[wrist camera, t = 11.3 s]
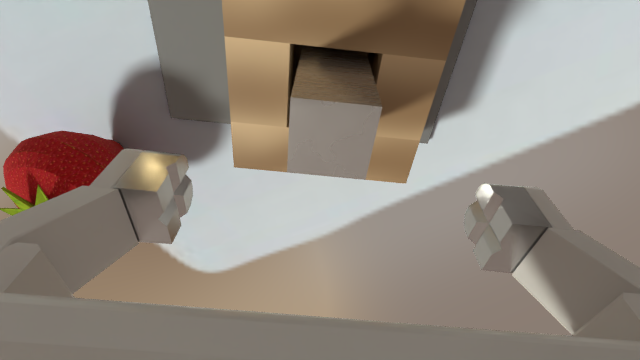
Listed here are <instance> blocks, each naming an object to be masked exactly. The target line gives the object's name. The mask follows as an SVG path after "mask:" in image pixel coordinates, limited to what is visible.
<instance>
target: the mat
mask: <svg viewBox="0 0 640 360" xmlns="http://www.w3.org/2000/svg"><path fill="white" fill-rule="evenodd" d="M476 2H477V0H466V1H465V4H464V7H463V11H462V14H461V17H460V20H459V23H458V26H457V29H456V32H455V35H454V38H453V41H452V44H451V47H450V50H449V53H448V56H447V59H446V62H445V65H444V68H443V72H442V75H441V78H440V81H439V84H438V87H437V90H436V93H435V96H434V99H433V102H432V105H431V108H430V111H429V114H428V117H427V120H426V123H425V126H424V130H423V133H422V136H421V139H420V142H419V143H427V144H428V141H429V138H430V135H431V132H432V129H433V126H434V123H435V121H436V118H437V115H438V112H439V109H440V106H441V103H442V100H443V98H444V95H445V92H446V89H447V86H448V83H449V80H450V77H451V74H452V72H453V69H454V66H455V63H456V60H457V57H458V54H459V51H460V48H461V46H462V43H463V40H464V37H465V34H466V31H467V28H468V25H469V22H470V20H471V17H472V14H473V11H474V8H475V5H476ZM148 4H149V9H150V14H151V19H152V24H153V29H154V34H155V39H156V45H157V50H158V55H159V60H160V65H161V70H162V75H163V80H164V85H165V91H166V96H167V101H168V106H169V111H170V116H171V118H177V119H187V120H197V121H207V122H217V123H227V124H231V118H230V105H229V91H228V78H227V64H226V50H225V37H224V23H223V10H222V0H148Z"/></svg>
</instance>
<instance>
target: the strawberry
mask: <svg viewBox="0 0 640 360" xmlns="http://www.w3.org/2000/svg"><path fill="white" fill-rule="evenodd" d="M122 150H124V149H123V147H122V146H121V145H120V144H119V143H117V142H116V141H113V140H107V139H103V138H100V137H97V136H94V135H89V134H82V133H75V132H67V131H57V132H52V133H48V134H44V135H40V136H36V137H32V138H29V139H26V140H24V141H22V142H21V143H20V144H19V145H18V146H17V147H16V148H15V149H14V150H13V152H12V153H11V154H10V155H9V157H8V158H7V159H6V161H5V163H4V166H3V168H4V178H5V184H6V188H7V189H6V188H4V187H3V188H2V190H3V191H4V192H5V193H6V194H7V195H8V196H9V197H10V198H11V200H12V201H13V202H14V203H15V205H16V206H17V207H18V208H16V209H15V208H0V210H2V211H4V212H6V213H8V214H10V215H12V216H13V215H15V214H17V213H20V212H22V211H24V210H27V209H29V208H31V207H34V206H36V205H38V204H41V203H43V202H45V201H48V200H50V199H52V198H55V197H57V196H60V195H62V194H64V193H67V192H69V191H71V190H74V189H76V188H78V187H81V186H90V185H91V183H92V182H93V181H94V180H95V179H96V178H97V177H98V176H99V175H100V174H101V172H102V171H103V170H104V169H105V168H106V167H107V166H108V165H109V164H110V163H111V161H112V160H113V159H114V158H115V157H116V156H117V155H118V154H119V153H120V152H121V151H122Z"/></svg>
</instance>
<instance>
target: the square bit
mask: <svg viewBox="0 0 640 360" xmlns="http://www.w3.org/2000/svg"><path fill="white" fill-rule="evenodd" d="M381 111H382V104H381V100H380V97H379V94H378V90H377V87H376V84H375V80H374V77H373V74H372V70H371V67H370V63H369V60H368V57H367V53H366V52H362V51H353V50H344V49H335V48H326V47H316V46H307V45H303V47H302V52H301V56H300V60H299V64H298V68H297V72H296V76H295V81H294V85H293V89H292V93H291V97H290V118H289V139H288V161H287V172H290V173H300V174H311V175H322V176H332V177H343V178H353V179H364V180H366V176H367V171H368V167H369V163H370V158H371V154H372V150H373V145H374V141H375V137H376V132H377V128H378V124H379V119H380V115H381Z"/></svg>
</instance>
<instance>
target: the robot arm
mask: <svg viewBox="0 0 640 360" xmlns="http://www.w3.org/2000/svg"><path fill="white" fill-rule="evenodd" d="M188 168H189V166H188V161H187V158H186V157H185V156H184V155H182V154H174V153H165V152H156V151H148V150H146V151H145V150H138V149H128V148H127V149H124V150H122V151H121V152H120V153H119V154H118V155H117V156H116V157H115V158H114V159H113V160H112V161H111V163H110V164H109V165H108V166H107V167H106V168H105V169H104V170H103V171H102V172H101V174H100V175H99V176H98V177H97V178H96V179H95V180H94V181H93V182H92V183H91V185H90V186H81V187H78V188H76V189H74V190H71V191H69V192H67V193H64V194H62V195H60V196H57V197H55V198H52V199H50V200H48V201H45V202H43V203H41V204H38V205H36V206H34V207H31V208H29V209H27V210H24V211H22V212H20V213H17V214H15V215H13V216H10V217H8V218H6V219H3V220H1V221H0V360H640V267H638V266H637V265H635V264H633V263H631V262H630V261H628V260H627V259H625V258H624V257H622V256H620V255H619V254H617V253H616V252H614V251H612V250H611V249H609V248H607V247H606V246H604V245H603V244H601V243H599V242H598V241H596V240H594V239H593V238H591V237H589V236H588V235H586V234H585V233H583V232H581V231H579V230H574V229H573V228H572V227H571V225H570V224H569V223H568V221H567V220H566V219H565V218H564V217H563V215H562V214H561V213H560V211H559V210H558V209H557V207H556V206H555V205H554V204H553V202H552V201H551V200H550V198H549V197H548V196H547V195H546V193H545V192H544V191H543V190H541V189H540V188H537V187H525V186H519V187H516V186H505V185H494V184H482V185H481V186H480V187H479V188H478V190H477V192H476V194H475V195H476V199H477V201H476V202H474V203H473V204H471V205H470V206H469V207H468V209H467V211H466V213H465V217H464V229H465V232H466V235H467V237H468V239H470V240H471V241H472V242H473V243H474V244H476V245H475V247H474V249H473V252H474V254H475V256H476V258H477V261H478V263H479V265H480V268H481V270H486V271H495V272H505V273H513V274H512V276H513V277H515V278H516V279H517V281H518V282H520V284H521V285H522V286H524V287H525V288H526V290H527V291H529V292H530V293H531V294H532V295H533V296H534V297H535V298H536V299H537V300H538V301H539V302H540V303H541V304H542V305H543V306H544V307H545V308H546V309H547V310H548V311H549V312H550V313H551V314H552V315H553V316H554V317H555V318H556V319H557V320H558V321H559V322H560V323H561V324H562V325H563V326H564V327H565V328H566V329H567V330H568V331H569V332H570V333H571V334H572V336H565V335H551V334H539V333H526V332H513V331H500V330H487V329H473V328H460V327H446V326H433V325H420V324H406V323H393V322H380V321H368V320H355V319H342V318H329V317H316V316H302V315H291V314H278V313H265V312H251V311H238V310H225V309H213V308H200V307H186V306H174V305H160V304H147V303H134V302H122V301H109V300H96V299H82V298H75V297H74V296H73V295H72V294H73V293H74V292H76V291H77V290H78V289H80V288H81V287H82V286H84V285H85V284H86V283H87V282H89V281H90V280H91V279H93V278H94V277H95V276H97V275H98V274H99V273H101V272H102V271H103V270H105V269H106V268H107V267H109V266H110V265H111V264H113V263H114V262H115V261H116V260H118V259H119V258H120V257H122V256H123V255H124V254H126V253H127V252H128V251H130V250H131V249H132V248H133V247H135V246H136V245H138V244H139V243H138V242H149V243H166V244H172V243H173V241H174V239H175V237H176V235H177V233H178V231H179V229H180V226H181V222H180V217H182V216H183V215H185V214H186V213H187V212H188V210H189V208H190V206H191V201H192V196H193V187H192V181H191V180H190V179H189V178H188V177H187V176H186V175H185V174H186V172H187V170H188Z"/></svg>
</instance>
